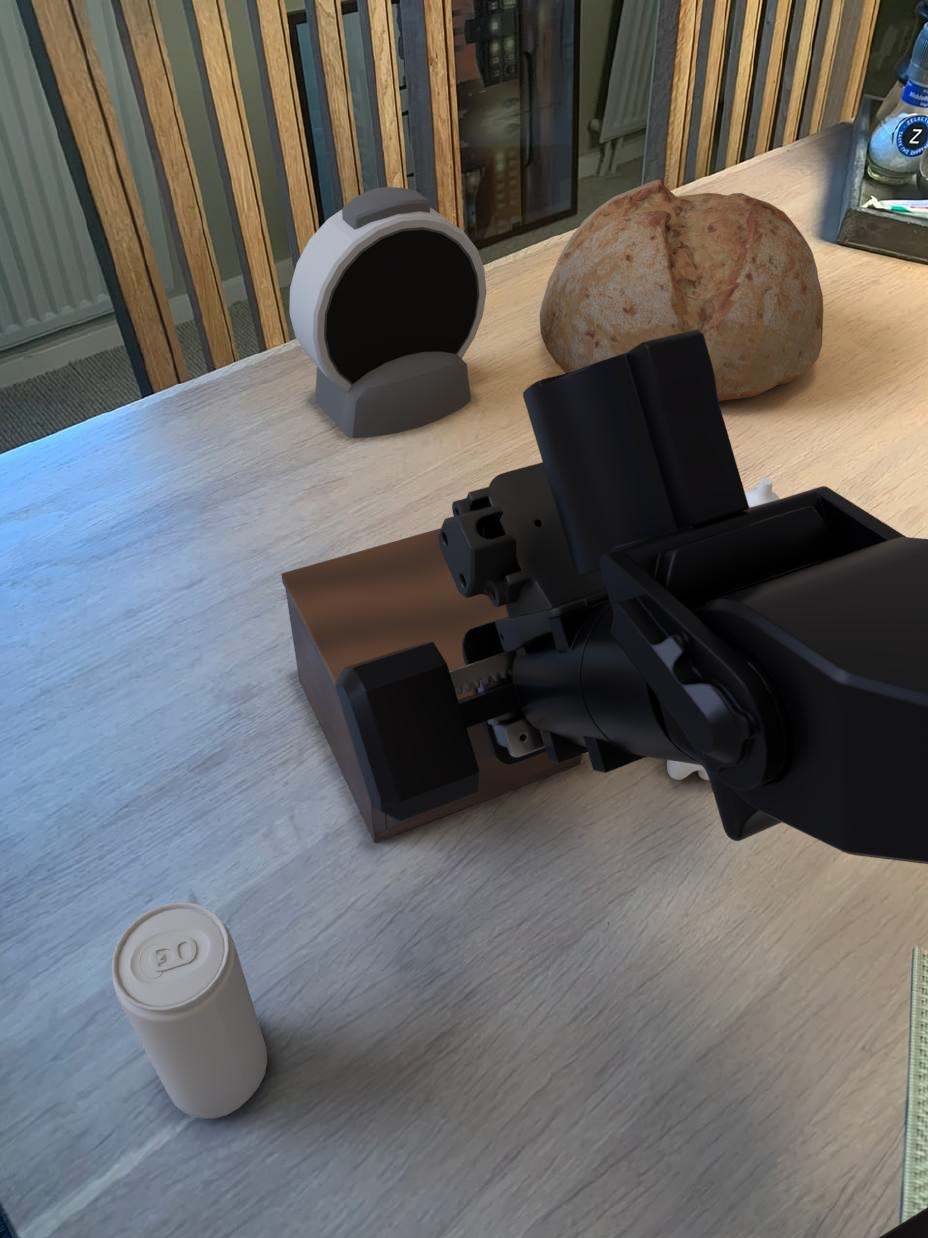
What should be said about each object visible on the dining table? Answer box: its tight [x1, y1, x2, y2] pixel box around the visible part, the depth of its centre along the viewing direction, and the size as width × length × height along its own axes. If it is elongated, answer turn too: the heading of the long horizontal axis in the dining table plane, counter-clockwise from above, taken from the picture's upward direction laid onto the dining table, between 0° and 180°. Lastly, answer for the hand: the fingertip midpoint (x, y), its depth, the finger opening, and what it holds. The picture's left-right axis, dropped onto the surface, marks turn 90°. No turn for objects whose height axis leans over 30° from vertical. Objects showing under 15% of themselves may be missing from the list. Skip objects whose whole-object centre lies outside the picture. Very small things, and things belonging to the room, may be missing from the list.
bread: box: [538, 179, 824, 402], centre depth 91 cm, size 26×23×15 cm
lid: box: [280, 527, 508, 700], centre depth 57 cm, size 14×14×1 cm
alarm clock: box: [289, 186, 487, 439], centre depth 83 cm, size 16×10×18 cm, turn 121°
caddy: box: [285, 590, 583, 844], centre depth 60 cm, size 14×14×8 cm
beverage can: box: [111, 901, 268, 1120], centre depth 44 cm, size 5×5×12 cm
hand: (500, 674), depth 49 cm, fingers closed
